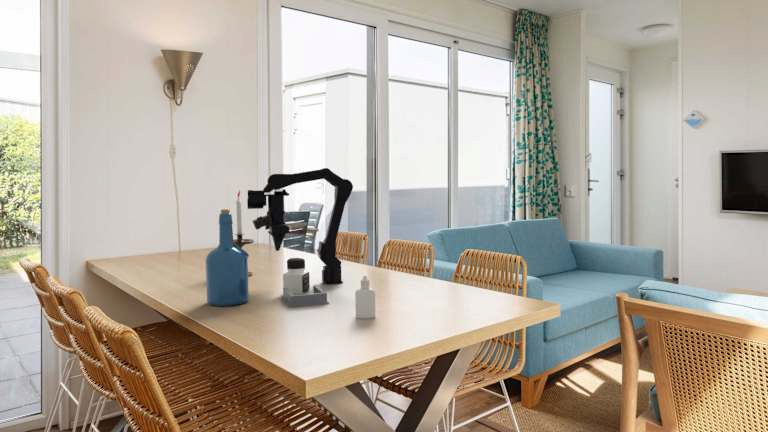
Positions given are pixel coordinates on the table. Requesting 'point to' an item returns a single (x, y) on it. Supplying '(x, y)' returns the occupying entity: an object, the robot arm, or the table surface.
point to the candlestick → (239, 240)
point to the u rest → (305, 298)
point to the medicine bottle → (296, 277)
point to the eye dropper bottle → (365, 300)
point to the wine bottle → (227, 268)
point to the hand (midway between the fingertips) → (277, 250)
